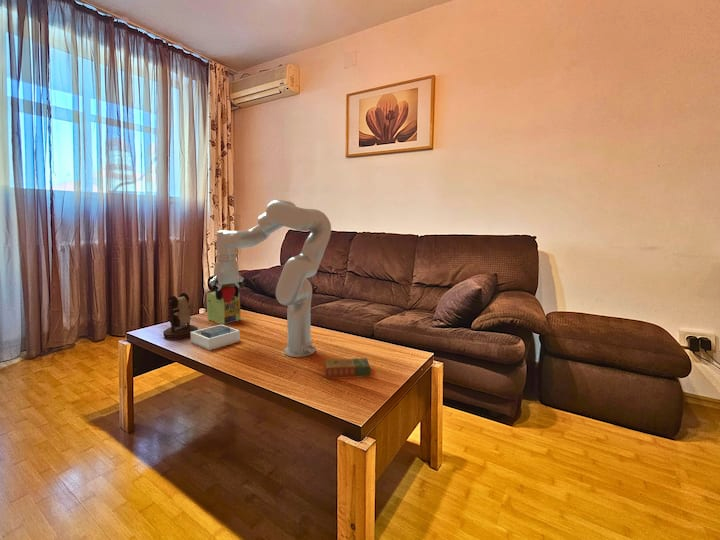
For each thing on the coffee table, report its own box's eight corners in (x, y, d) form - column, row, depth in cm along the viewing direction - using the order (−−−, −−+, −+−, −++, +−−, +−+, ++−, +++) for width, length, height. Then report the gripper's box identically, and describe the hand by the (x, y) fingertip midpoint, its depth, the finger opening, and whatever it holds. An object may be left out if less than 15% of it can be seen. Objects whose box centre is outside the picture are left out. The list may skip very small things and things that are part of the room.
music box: (182, 341, 156) (179, 298, 153) (155, 338, 160) (152, 296, 157) (205, 332, 170) (202, 292, 167) (180, 329, 174) (177, 290, 171)
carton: (324, 369, 129) (324, 358, 129) (367, 367, 132) (367, 357, 131) (325, 379, 121) (325, 368, 121) (370, 377, 123) (370, 365, 123)
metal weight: (230, 337, 159) (229, 327, 158) (211, 344, 150) (210, 333, 150) (220, 335, 162) (220, 325, 161) (201, 341, 154) (201, 330, 153)
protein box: (224, 324, 182) (223, 296, 180) (207, 320, 191) (205, 292, 188) (241, 320, 191) (240, 292, 189) (223, 315, 199) (222, 289, 197)
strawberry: (216, 303, 153) (215, 281, 151) (230, 300, 159) (229, 279, 158) (225, 305, 150) (224, 282, 148) (239, 302, 156) (238, 280, 155)
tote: (240, 341, 158) (239, 330, 157) (209, 350, 146) (208, 339, 145) (221, 334, 167) (221, 324, 166) (191, 342, 155) (190, 332, 154)
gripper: (239, 256, 161) (239, 293, 163) (202, 259, 147) (204, 299, 150) (248, 258, 156) (249, 296, 159) (212, 260, 143) (213, 302, 145)
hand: (227, 297), depth 154 cm, fingers closed on strawberry, 7 cm apart
